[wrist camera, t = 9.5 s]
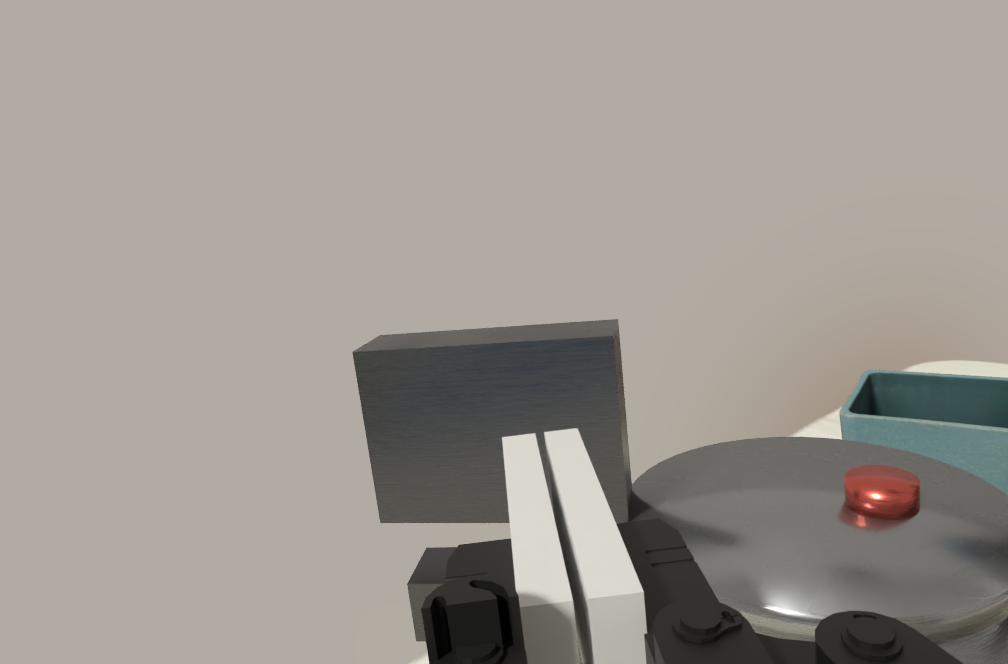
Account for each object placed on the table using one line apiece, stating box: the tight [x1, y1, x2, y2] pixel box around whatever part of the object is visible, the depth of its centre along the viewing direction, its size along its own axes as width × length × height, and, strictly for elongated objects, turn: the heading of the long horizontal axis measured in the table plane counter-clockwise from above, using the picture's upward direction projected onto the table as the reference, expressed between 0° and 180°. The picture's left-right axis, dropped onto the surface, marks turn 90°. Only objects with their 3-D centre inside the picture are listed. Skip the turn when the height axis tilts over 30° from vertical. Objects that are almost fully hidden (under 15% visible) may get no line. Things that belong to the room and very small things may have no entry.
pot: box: [407, 547, 1008, 664], centre depth 28 cm, size 26×13×8 cm, turn 80°
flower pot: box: [840, 370, 1008, 496], centre depth 39 cm, size 9×9×9 cm
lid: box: [353, 319, 1008, 643], centre depth 27 cm, size 23×14×8 cm, turn 78°
